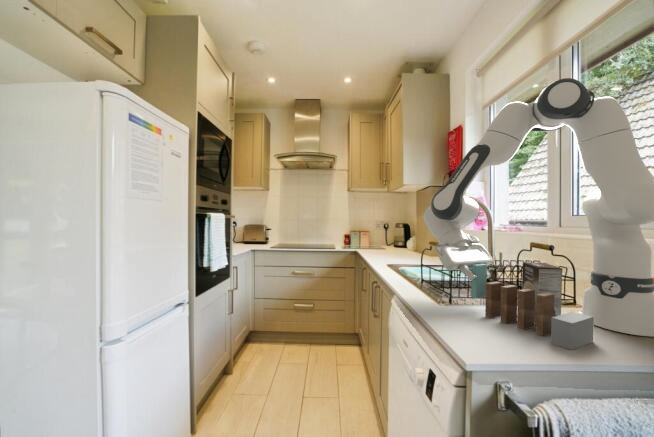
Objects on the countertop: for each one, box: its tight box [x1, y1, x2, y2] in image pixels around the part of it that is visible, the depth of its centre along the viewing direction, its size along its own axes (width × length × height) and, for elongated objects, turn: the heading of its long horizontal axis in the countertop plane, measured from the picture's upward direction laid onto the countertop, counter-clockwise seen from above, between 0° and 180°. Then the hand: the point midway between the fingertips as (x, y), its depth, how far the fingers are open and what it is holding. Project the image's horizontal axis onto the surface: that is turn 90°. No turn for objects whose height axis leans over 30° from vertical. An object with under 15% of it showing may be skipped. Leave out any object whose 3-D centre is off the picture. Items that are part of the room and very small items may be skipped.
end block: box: [550, 311, 594, 351], centre depth 66 cm, size 10×4×6 cm, turn 116°
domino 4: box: [516, 288, 535, 330], centre depth 76 cm, size 2×5×10 cm, turn 116°
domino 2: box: [484, 281, 503, 319], centre depth 84 cm, size 2×5×10 cm, turn 116°
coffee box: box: [521, 261, 563, 324], centre depth 81 cm, size 9×6×16 cm
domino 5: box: [535, 293, 555, 337], centre depth 72 cm, size 2×5×10 cm, turn 116°
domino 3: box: [500, 284, 518, 324], centre depth 80 cm, size 2×5×10 cm, turn 116°
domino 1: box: [470, 264, 488, 299], centre depth 88 cm, size 2×5×10 cm, turn 116°
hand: (481, 278), depth 87 cm, fingers closed on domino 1, 5 cm apart
